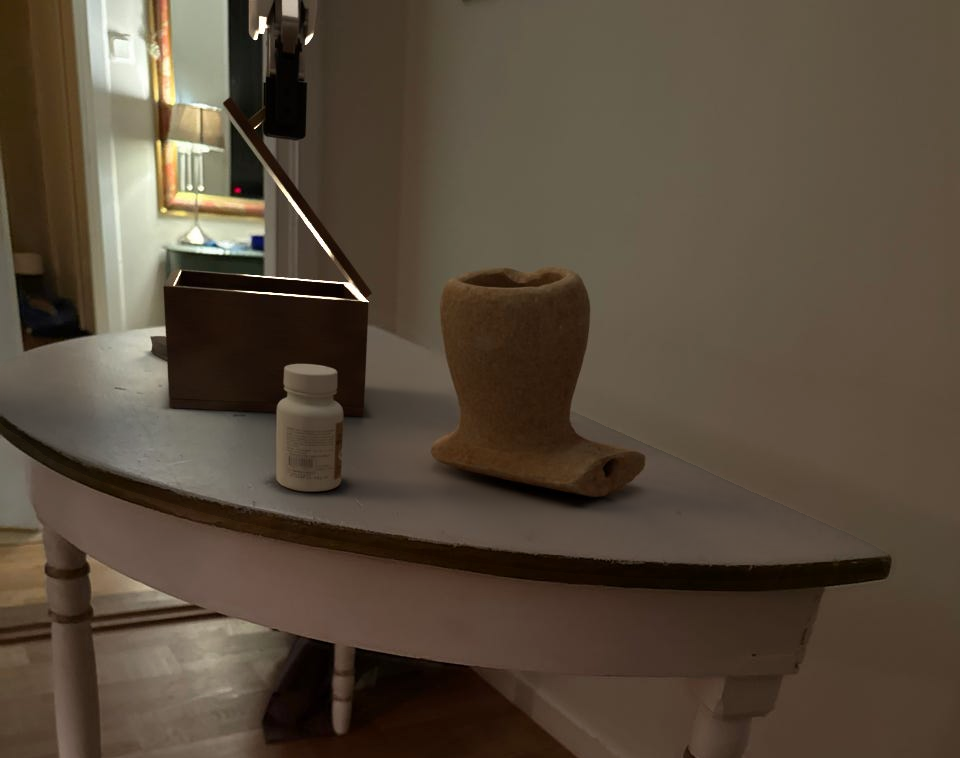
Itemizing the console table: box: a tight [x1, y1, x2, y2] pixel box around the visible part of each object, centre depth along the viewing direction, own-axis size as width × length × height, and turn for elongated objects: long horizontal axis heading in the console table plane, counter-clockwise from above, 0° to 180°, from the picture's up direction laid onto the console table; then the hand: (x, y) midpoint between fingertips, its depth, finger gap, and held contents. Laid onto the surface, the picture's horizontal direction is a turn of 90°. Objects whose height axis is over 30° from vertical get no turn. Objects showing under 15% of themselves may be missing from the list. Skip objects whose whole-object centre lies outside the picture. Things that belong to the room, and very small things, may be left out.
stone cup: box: [430, 266, 646, 498], centre depth 65 cm, size 15×12×15 cm
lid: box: [222, 96, 373, 300], centre depth 78 cm, size 17×14×5 cm
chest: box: [162, 268, 370, 417], centre depth 83 cm, size 17×14×10 cm
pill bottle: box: [275, 364, 344, 493], centre depth 61 cm, size 4×4×8 cm
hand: (283, 135), depth 76 cm, fingers closed on lid, 5 cm apart
